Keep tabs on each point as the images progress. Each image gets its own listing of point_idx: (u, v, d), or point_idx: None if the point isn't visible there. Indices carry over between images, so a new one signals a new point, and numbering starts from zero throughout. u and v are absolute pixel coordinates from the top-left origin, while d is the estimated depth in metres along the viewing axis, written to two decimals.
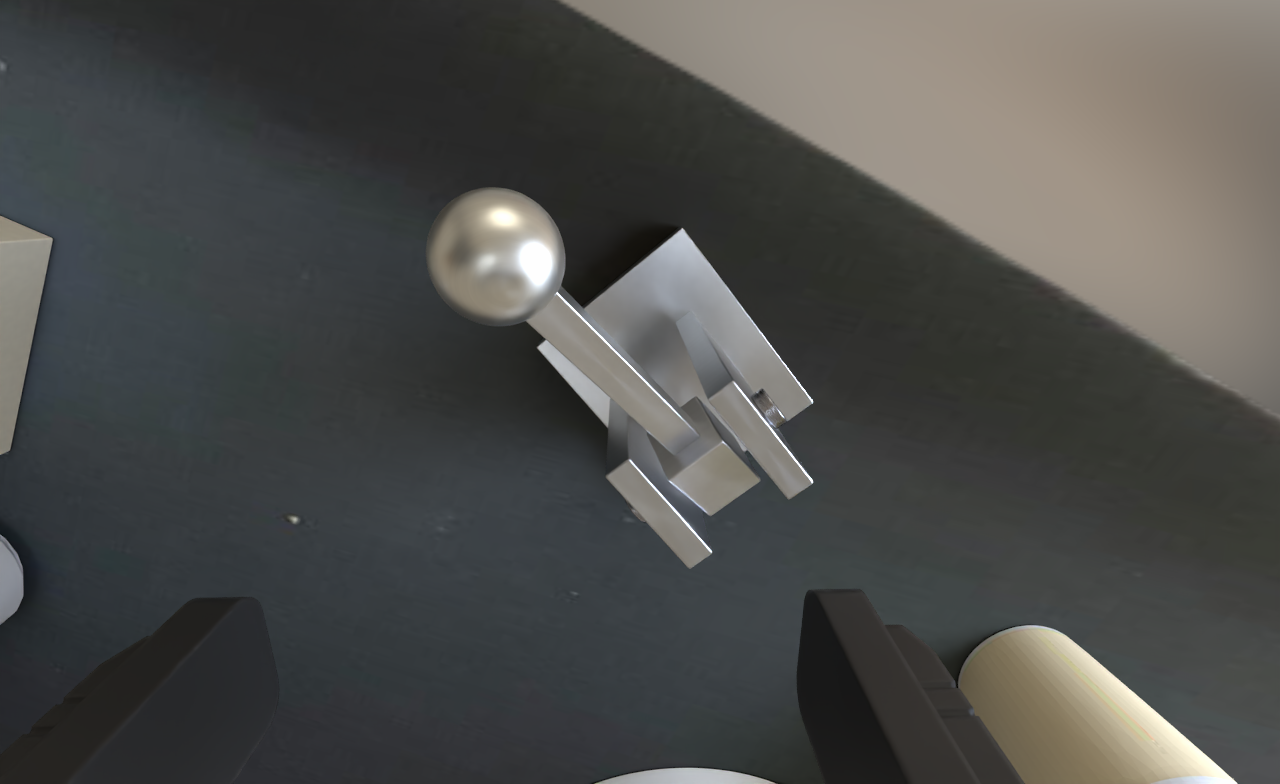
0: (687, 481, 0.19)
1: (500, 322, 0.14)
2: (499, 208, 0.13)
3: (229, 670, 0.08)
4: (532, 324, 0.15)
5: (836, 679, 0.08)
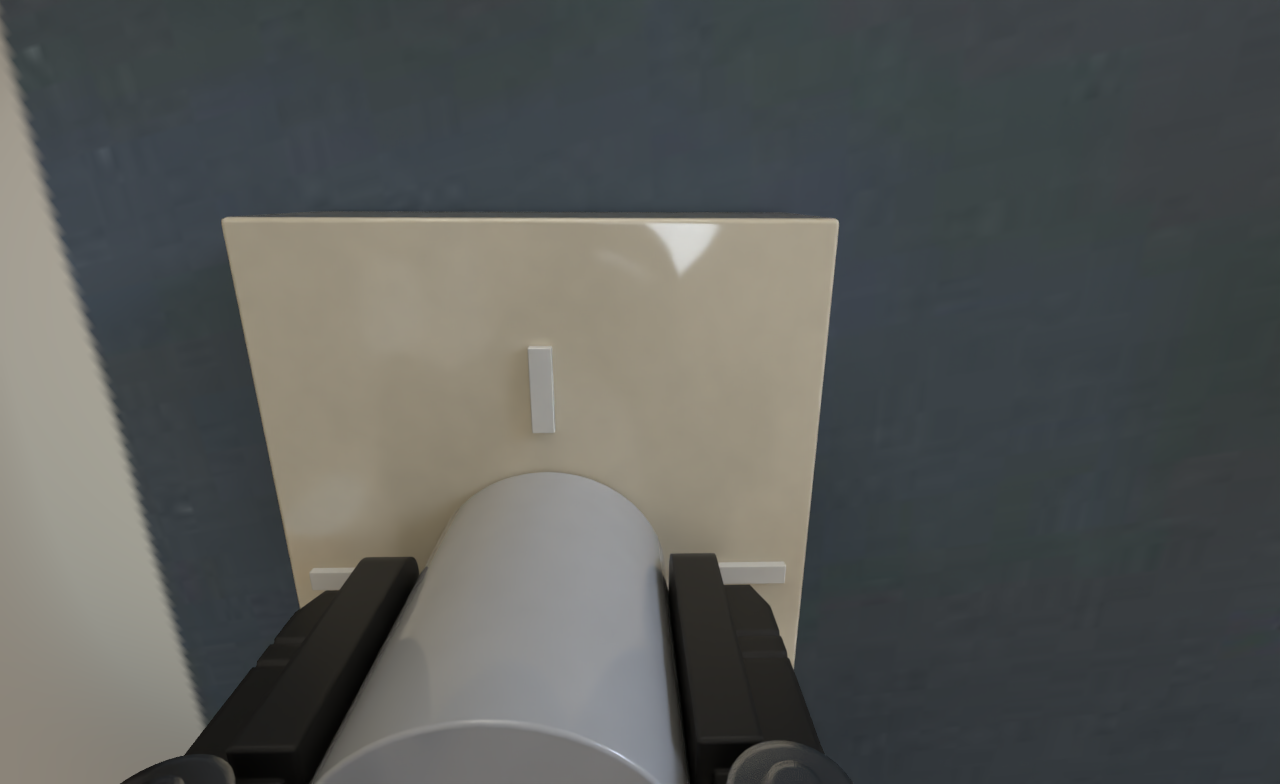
0: None
1: None
2: None
3: None
4: None
5: (676, 630, 0.08)
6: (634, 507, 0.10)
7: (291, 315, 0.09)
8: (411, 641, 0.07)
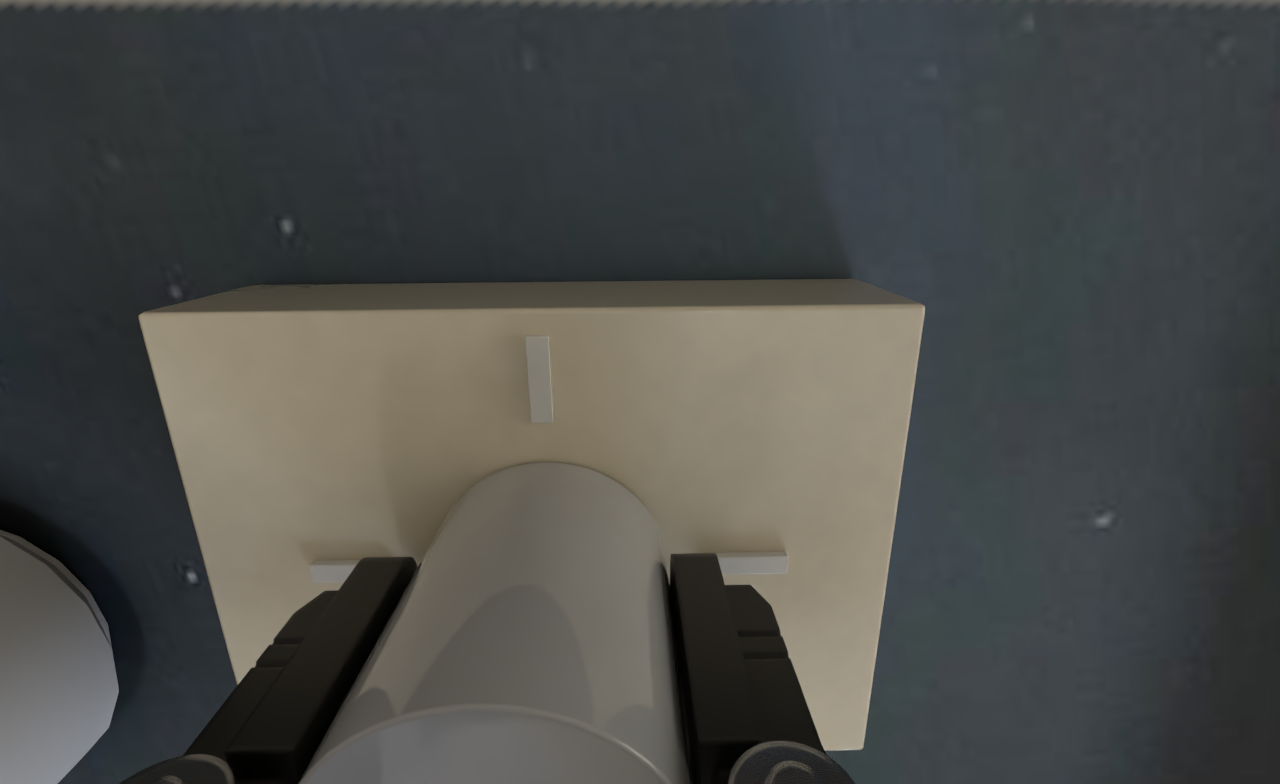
0: None
1: None
2: None
3: None
4: None
5: (677, 630, 0.08)
6: (629, 492, 0.10)
7: (831, 355, 0.10)
8: (399, 633, 0.07)
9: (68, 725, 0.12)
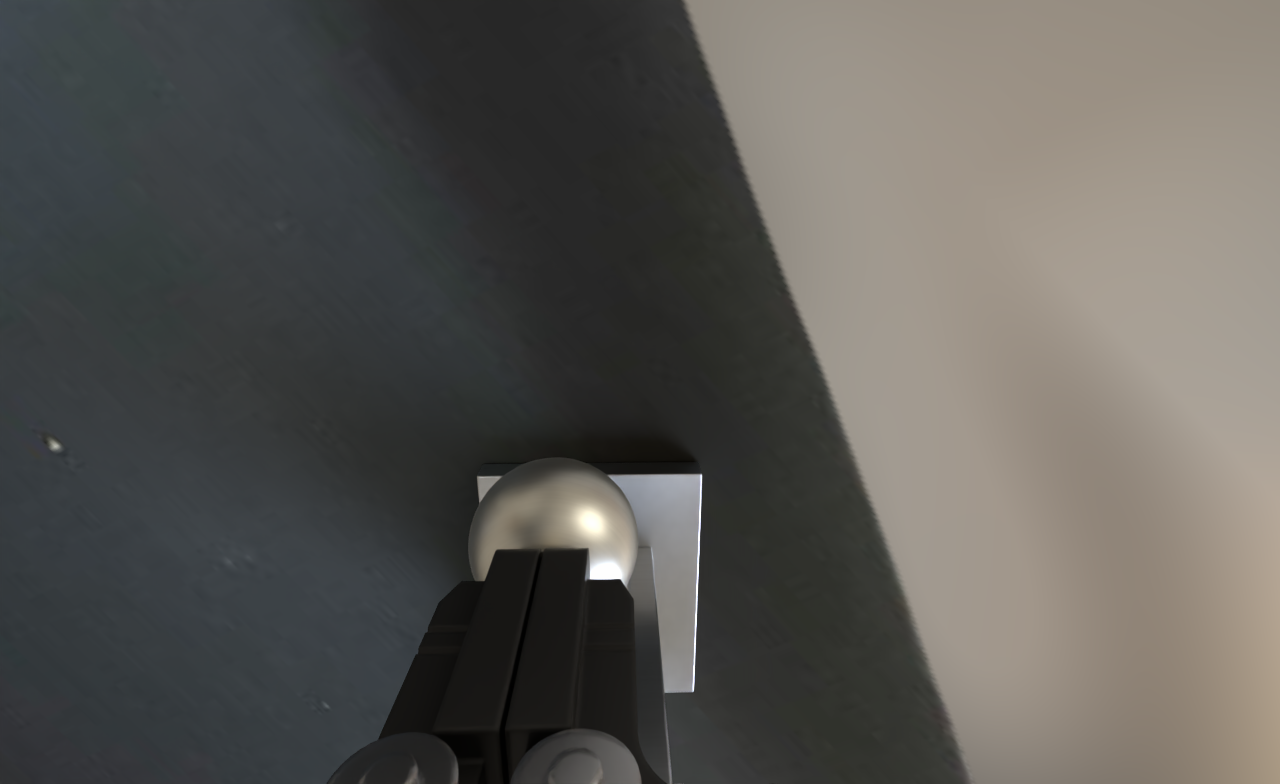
0: None
1: None
2: (604, 520, 0.11)
3: None
4: None
5: None
6: None
7: None
8: None
9: None
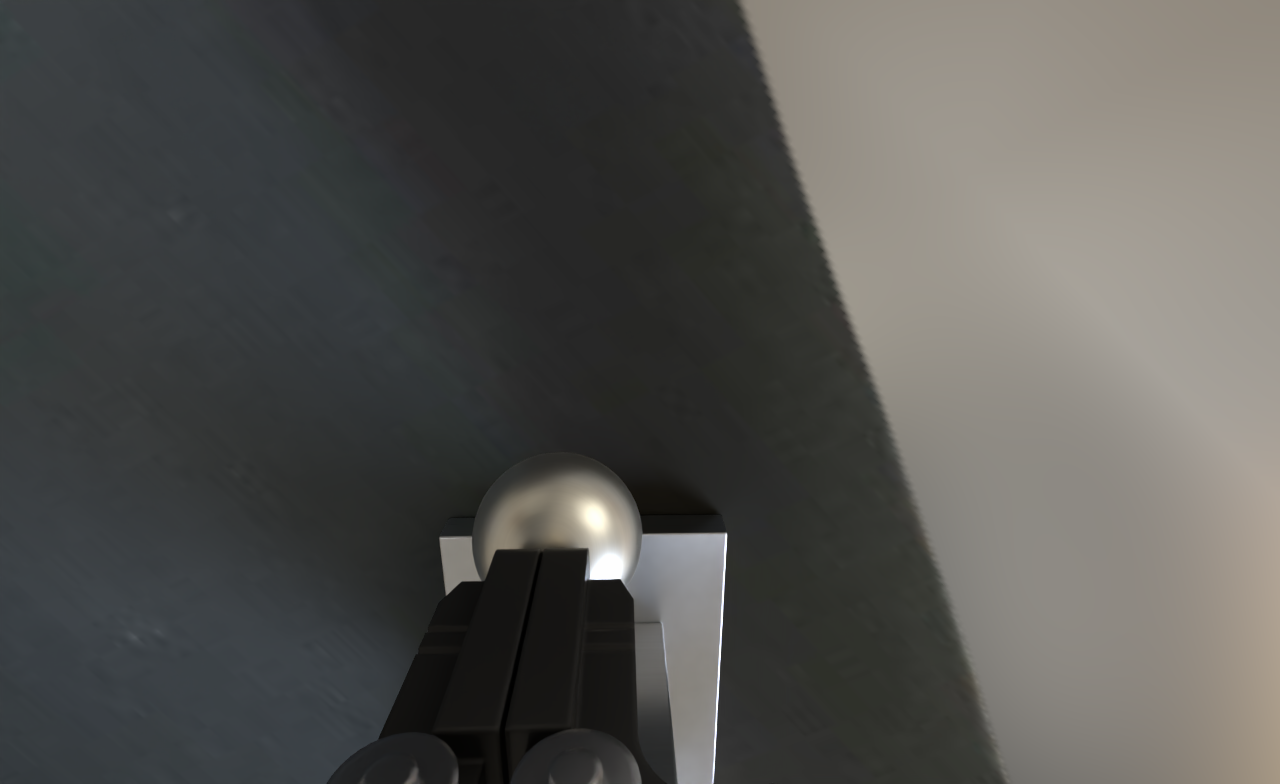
0: None
1: None
2: (609, 483, 0.11)
3: None
4: None
5: None
6: None
7: None
8: None
9: None
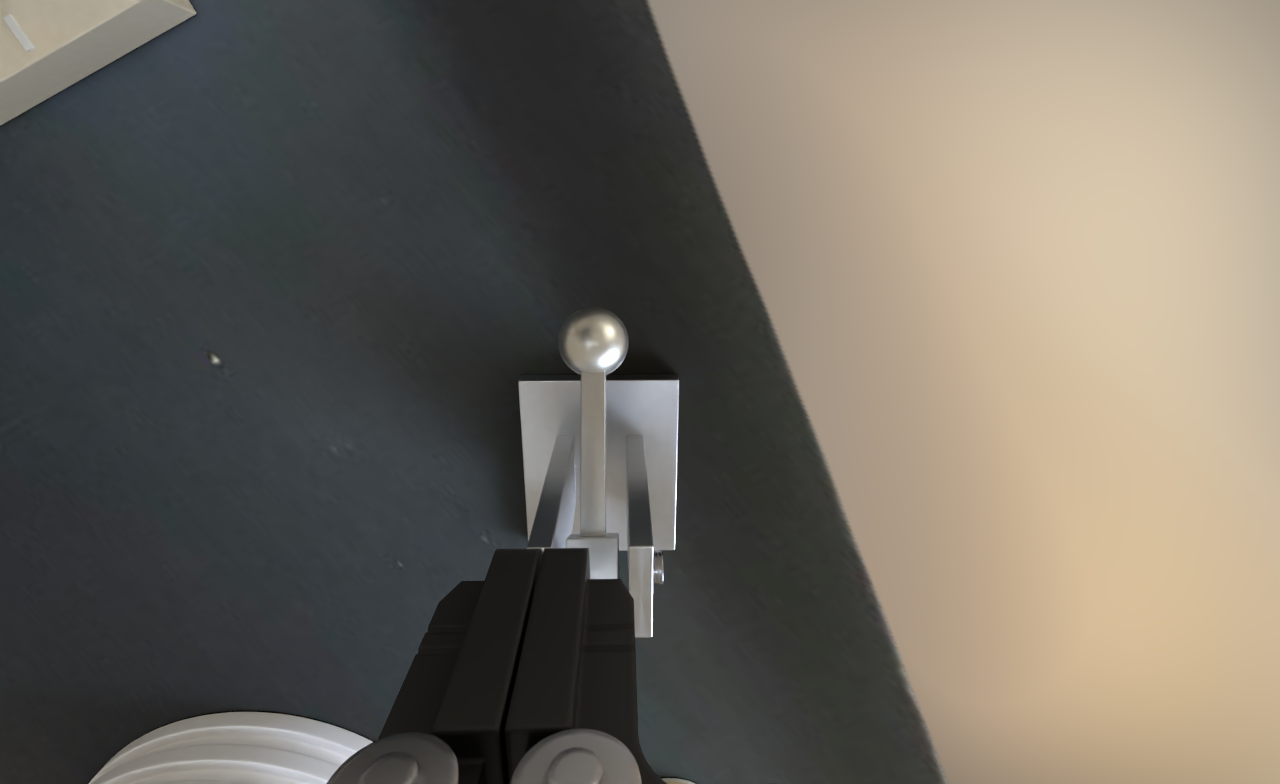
0: None
1: (574, 352, 0.26)
2: (614, 315, 0.27)
3: None
4: (582, 376, 0.27)
5: None
6: None
7: None
8: None
9: None
